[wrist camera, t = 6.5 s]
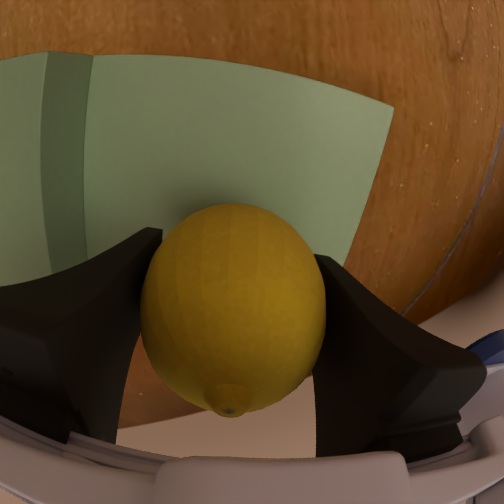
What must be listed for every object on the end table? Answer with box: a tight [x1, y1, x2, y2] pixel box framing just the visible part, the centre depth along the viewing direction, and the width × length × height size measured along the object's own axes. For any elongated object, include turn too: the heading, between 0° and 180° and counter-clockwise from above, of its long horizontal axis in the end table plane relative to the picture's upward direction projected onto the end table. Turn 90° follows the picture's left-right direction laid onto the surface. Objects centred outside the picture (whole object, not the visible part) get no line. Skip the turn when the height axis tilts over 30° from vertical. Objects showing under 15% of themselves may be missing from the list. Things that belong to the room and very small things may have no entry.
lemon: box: [140, 203, 326, 418], centre depth 9 cm, size 6×6×8 cm
